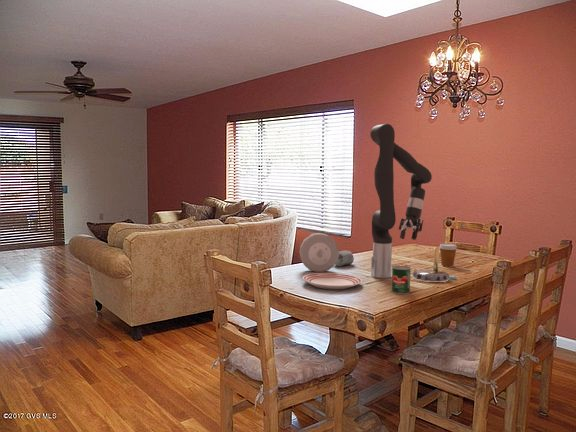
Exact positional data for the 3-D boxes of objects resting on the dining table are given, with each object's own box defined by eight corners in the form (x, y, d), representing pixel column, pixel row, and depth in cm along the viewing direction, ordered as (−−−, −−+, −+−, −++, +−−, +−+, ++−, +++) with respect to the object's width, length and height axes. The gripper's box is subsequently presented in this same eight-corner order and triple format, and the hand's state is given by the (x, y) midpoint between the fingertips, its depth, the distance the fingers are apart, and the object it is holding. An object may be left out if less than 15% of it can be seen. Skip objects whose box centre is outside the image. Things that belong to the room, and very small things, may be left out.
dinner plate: (324, 275, 234) (324, 269, 234) (372, 284, 217) (372, 277, 217) (290, 285, 213) (290, 278, 213) (340, 296, 196) (340, 288, 195)
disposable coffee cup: (444, 267, 256) (445, 246, 254) (435, 264, 265) (435, 243, 264) (459, 267, 258) (460, 245, 257) (449, 263, 267) (450, 243, 266)
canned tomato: (406, 289, 207) (407, 265, 206) (412, 294, 199) (413, 269, 198) (389, 289, 207) (390, 265, 206) (393, 294, 199) (394, 269, 198)
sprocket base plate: (419, 283, 220) (420, 281, 220) (407, 275, 237) (407, 273, 237) (454, 282, 221) (454, 281, 221) (440, 274, 238) (440, 273, 238)
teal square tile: (450, 279, 228) (450, 277, 228) (447, 278, 231) (447, 275, 231) (456, 279, 228) (456, 276, 228) (453, 277, 231) (453, 275, 231)
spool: (342, 262, 250) (339, 245, 254) (330, 268, 256) (327, 251, 260) (359, 266, 258) (356, 249, 262) (347, 271, 265) (344, 254, 269)
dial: (300, 273, 236) (300, 235, 234) (298, 269, 248) (299, 232, 246) (340, 274, 237) (340, 235, 235) (336, 269, 249) (337, 232, 247)
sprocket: (440, 282, 217) (441, 253, 216) (407, 277, 228) (408, 249, 227) (453, 276, 230) (455, 249, 228) (421, 271, 241) (422, 245, 239)
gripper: (399, 206, 238) (392, 236, 236) (418, 205, 225) (411, 237, 224) (410, 210, 241) (403, 240, 239) (430, 209, 229) (423, 241, 227)
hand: (407, 239), depth 232 cm, fingers open, 8 cm apart
